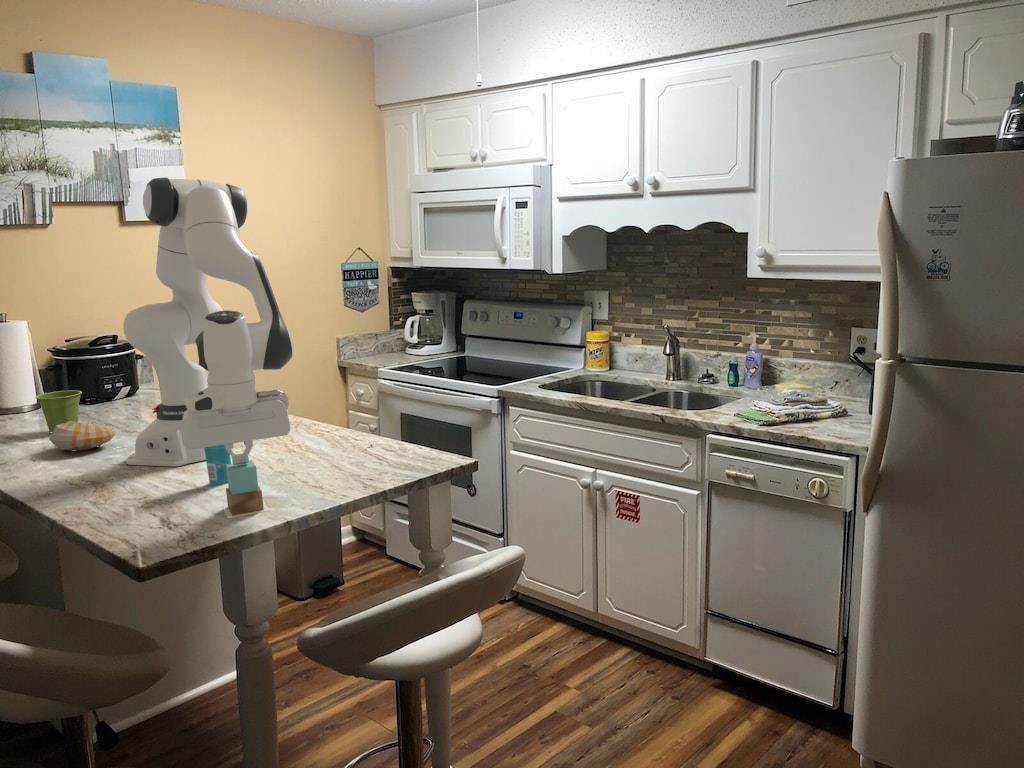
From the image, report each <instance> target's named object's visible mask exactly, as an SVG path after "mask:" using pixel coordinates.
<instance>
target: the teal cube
mask: <svg viewBox="0 0 1024 768" xmlns="http://www.w3.org/2000/svg"><path fill="white" fill-rule="evenodd" d="M226 469H227V478H228V483H227V488H229V490H230V492H231V494H232V495H236V494H242V493H247V492H253V491H259V490H258V486H259V481H258V473H257V465H256V464H255V462H254V461H253V460H249V463H245V464H239V465H233V462H231V464H226Z"/></svg>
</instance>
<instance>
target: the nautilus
mask: <svg viewBox="0 0 1024 768" xmlns="http://www.w3.org/2000/svg"><path fill="white" fill-rule="evenodd" d="M114 436H115V431H114V429H113V428H111V426H106V425H104V424H101V423H100V424H99V423H98V422H94V421H92V422H91V421H90V422H79V421H78V422H74V421H69V422H67V423H63V424H62V423H61V424H60V425H56V427H55V428H54V430H53V432H52V433H50V436H49V438H48V440H49V441H50V442H51V443H52V444H53V446H55V447H56V448H58V449H59V450H62V451H65V450H66V451H69V450H84V451H86V450H87V451H88V450H90V449H93V448H94V449H95V448H96V447H97V446H99V447H100V446H101V445H104V444H107V443H108V442H110V441H111V440H112V439H113V438H114ZM97 448H98V447H97Z"/></svg>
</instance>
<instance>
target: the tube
mask: <svg viewBox="0 0 1024 768" xmlns="http://www.w3.org/2000/svg"><path fill="white" fill-rule="evenodd" d="M204 450H205V456H206V460H205V463H206V468H207V476H208V482H209V485H210V486H213V487H214V486H221V485H228V478H227V469H226V464H231V463H232V456H231V455H230V454H229V452H228V451H227V450H226V448H225V445H218V446H212V447H205V448H204Z"/></svg>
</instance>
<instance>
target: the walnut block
mask: <svg viewBox="0 0 1024 768" xmlns="http://www.w3.org/2000/svg"><path fill="white" fill-rule="evenodd" d="M258 490H259V491H253V492H247V493H242V494H236V495H232V494H231V492H230V490H229V487H225V492H226V501H227V506H228V508H229V510H230V512H231V514H232V516H234V515H240V514H245V513H250V512H256V511H261V510H264V508H263V501H264V499H263V492H262V491H263V490H262V489H261V488H260V486H259V485H258Z"/></svg>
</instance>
